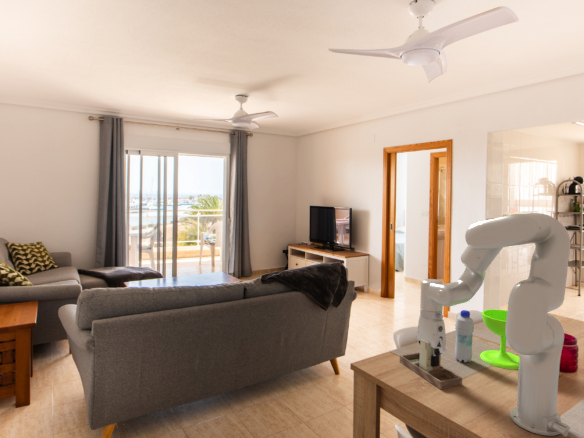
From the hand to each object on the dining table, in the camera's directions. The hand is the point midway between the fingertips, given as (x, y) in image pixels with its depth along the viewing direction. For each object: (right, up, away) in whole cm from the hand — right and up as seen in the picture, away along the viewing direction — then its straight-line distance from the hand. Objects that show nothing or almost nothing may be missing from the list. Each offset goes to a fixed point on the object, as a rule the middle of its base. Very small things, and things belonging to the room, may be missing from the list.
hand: (429, 362), depth 138 cm
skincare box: (0, -4, 0) cm, 4 cm away
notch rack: (0, -4, +1) cm, 4 cm away
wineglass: (+33, -4, +12) cm, 35 cm away
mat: (-3, -3, +7) cm, 8 cm away
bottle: (+17, -4, +11) cm, 21 cm away
